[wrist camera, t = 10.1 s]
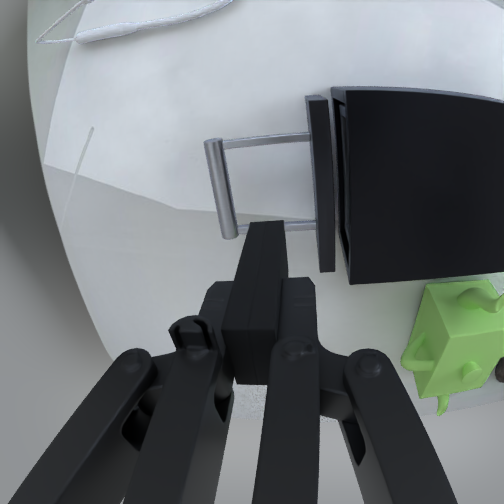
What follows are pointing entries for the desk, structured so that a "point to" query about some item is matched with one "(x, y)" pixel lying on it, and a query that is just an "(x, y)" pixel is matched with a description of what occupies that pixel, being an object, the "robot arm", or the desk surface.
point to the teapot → (455, 339)
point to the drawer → (320, 170)
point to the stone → (500, 370)
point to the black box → (420, 183)
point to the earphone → (126, 24)
